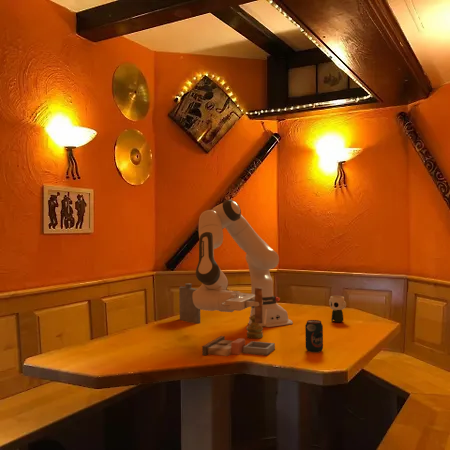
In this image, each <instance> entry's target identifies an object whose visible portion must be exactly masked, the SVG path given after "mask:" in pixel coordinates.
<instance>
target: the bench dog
mask: <svg viewBox="0 0 450 450" xmlns="http://www.w3.org/2000/svg"><path fill="white" fill-rule="evenodd" d="M232 341H233V342H232V343H231V354H230V355H240V354H242V353H243V347H244V346H245V345H246V338H240V337H239V338H237V339H235V340H232Z"/></svg>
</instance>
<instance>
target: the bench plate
mask: <svg viewBox="0 0 450 450" xmlns="http://www.w3.org/2000/svg"><path fill="white" fill-rule="evenodd" d="M233 341H234V340H228V339H225V340H221V341H220V342H218V343H216V344H214V345H212V346H211V347H209V348H208V355H215V356H216V355H217V356H225V357H229V356H231V355H232V354H231V343H232V342H233Z"/></svg>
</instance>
